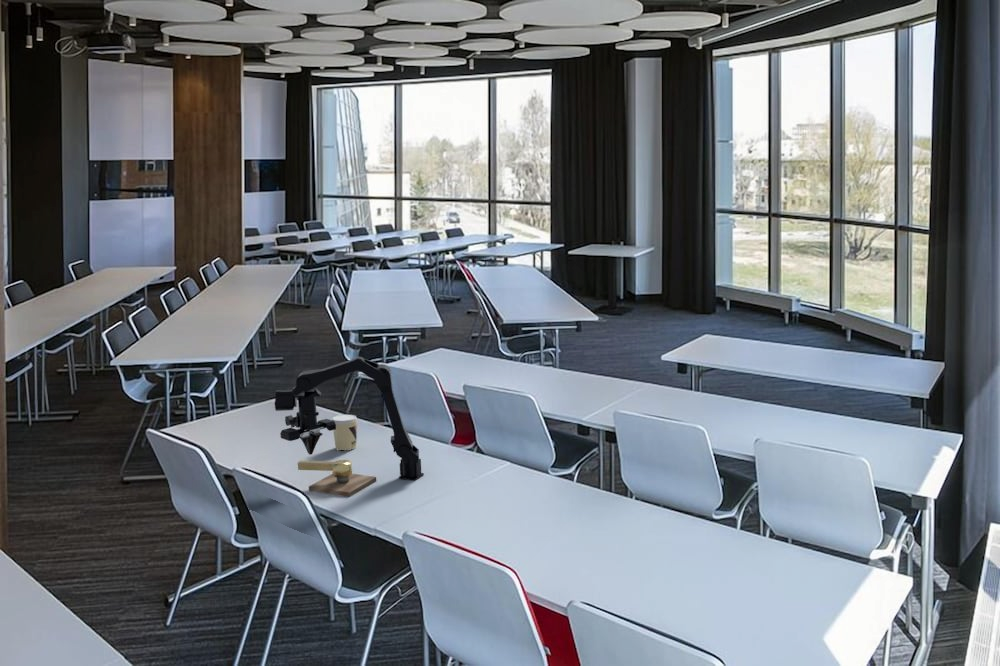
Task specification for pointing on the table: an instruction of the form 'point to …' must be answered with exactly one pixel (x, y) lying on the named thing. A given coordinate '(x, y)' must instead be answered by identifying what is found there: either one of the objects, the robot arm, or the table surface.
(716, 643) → the table surface
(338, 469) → the beige elongated piece
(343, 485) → the base
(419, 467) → the robot arm
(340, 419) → the coffee cup
